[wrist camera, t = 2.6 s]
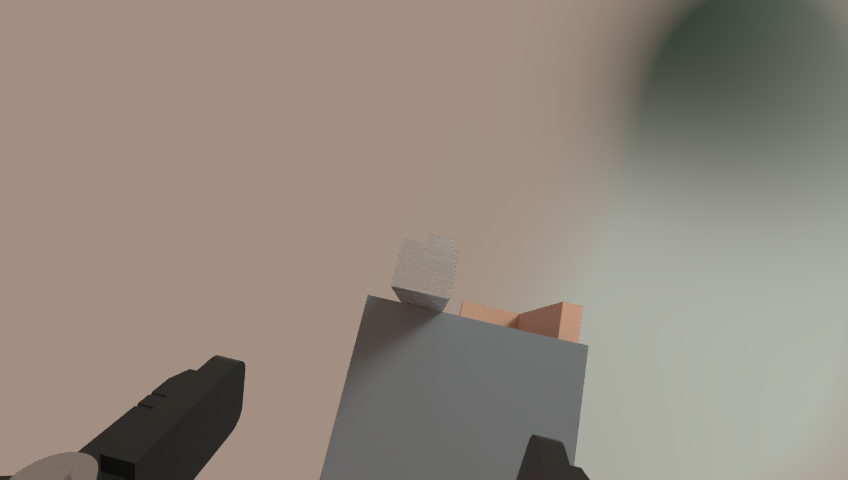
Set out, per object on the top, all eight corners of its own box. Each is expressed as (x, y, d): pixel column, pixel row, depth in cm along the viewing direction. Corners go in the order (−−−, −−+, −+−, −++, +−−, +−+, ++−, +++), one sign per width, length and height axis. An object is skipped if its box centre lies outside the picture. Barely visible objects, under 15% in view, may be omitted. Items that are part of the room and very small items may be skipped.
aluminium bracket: (435, 322, 45) (452, 243, 47) (449, 299, 20) (484, 131, 22) (410, 316, 45) (428, 238, 47) (390, 285, 20) (432, 120, 22)
